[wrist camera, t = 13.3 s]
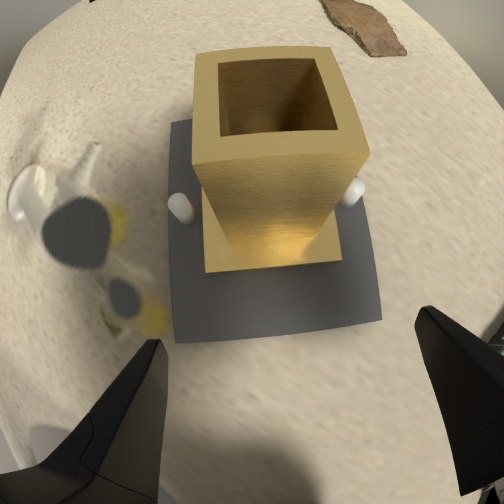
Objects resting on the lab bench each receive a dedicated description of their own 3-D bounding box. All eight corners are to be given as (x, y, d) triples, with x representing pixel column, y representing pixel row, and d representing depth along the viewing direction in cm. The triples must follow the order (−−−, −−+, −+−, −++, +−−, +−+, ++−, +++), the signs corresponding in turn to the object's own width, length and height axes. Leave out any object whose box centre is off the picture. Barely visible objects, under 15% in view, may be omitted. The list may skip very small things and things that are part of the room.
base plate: (376, 319, 17) (412, 320, 12) (179, 341, 17) (151, 350, 13) (334, 115, 21) (348, 74, 16) (174, 129, 21) (156, 89, 16)
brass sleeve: (337, 262, 17) (426, 200, 7) (208, 274, 17) (137, 223, 7) (317, 150, 19) (353, 31, 9) (203, 159, 19) (161, 41, 9)
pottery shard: (349, 57, 23) (353, 46, 21) (313, -3, 26) (314, -12, 24) (410, 66, 23) (416, 56, 21) (363, 3, 26) (366, -6, 24)
